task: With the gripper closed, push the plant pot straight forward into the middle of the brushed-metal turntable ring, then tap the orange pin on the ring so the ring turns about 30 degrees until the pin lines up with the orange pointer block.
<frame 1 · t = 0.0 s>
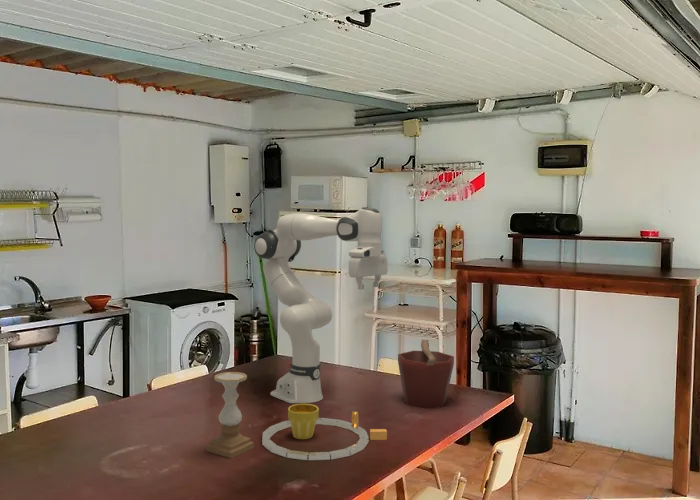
hand: (368, 288, 234), 48 cm above the table, tool pointing down, fingers open, 8 cm apart
plant pot: (303, 436, 213), resting in turntable ring
pointer block: (378, 439, 211), on the table
bucket: (423, 402, 254), on the table
turntable ring: (315, 429, 209), point 3 cm above the table, hinge at 0.0°
candle holder: (230, 450, 199), on the table
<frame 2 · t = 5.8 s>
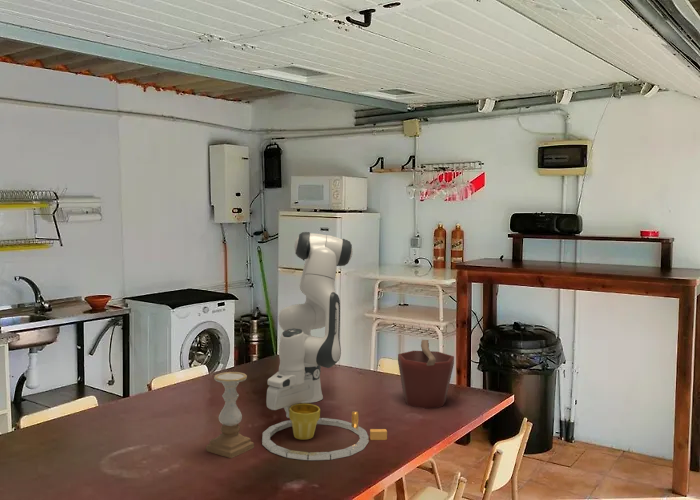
hand: (291, 416, 215), 6 cm above the table, tool pointing down, fingers closed, pressing on plant pot
plant pot: (303, 436, 212), resting in turntable ring, touching gripper
everything else where it was.
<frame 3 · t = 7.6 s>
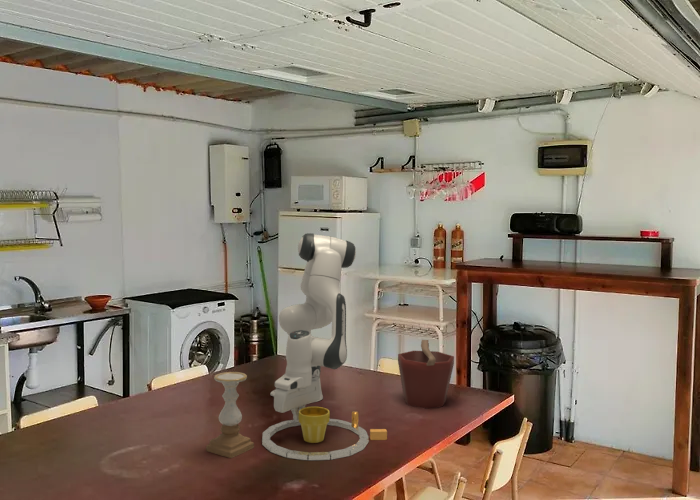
hand: (297, 418, 214), 5 cm above the table, tool pointing down, fingers closed
plant pot: (313, 440, 210), resting in turntable ring
everything else where it was.
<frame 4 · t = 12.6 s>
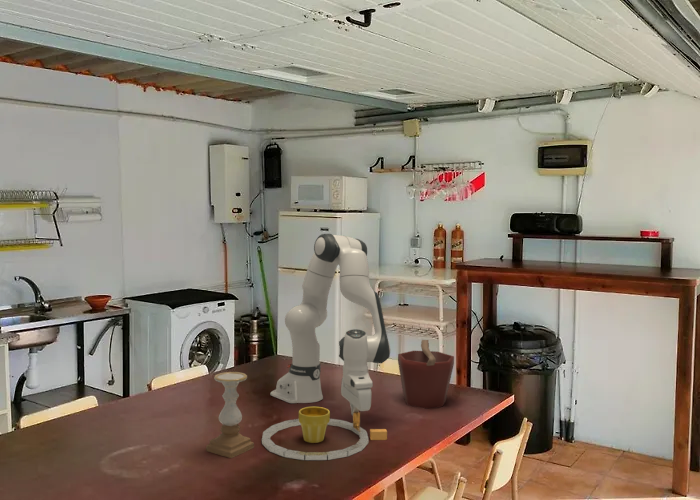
hand: (354, 415, 220), 5 cm above the table, tool pointing down, fingers closed
turntable ring: (315, 429, 209), point 3 cm above the table, hinge at -3.2°, touching gripper
everything else where it was.
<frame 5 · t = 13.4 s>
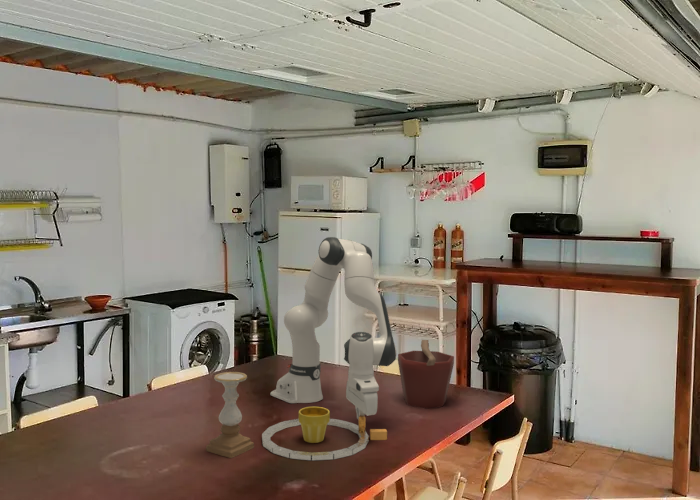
hand: (360, 419, 216), 5 cm above the table, tool pointing down, fingers closed
turntable ring: (315, 429, 209), point 3 cm above the table, hinge at -19.3°, touching gripper
everything else where it was.
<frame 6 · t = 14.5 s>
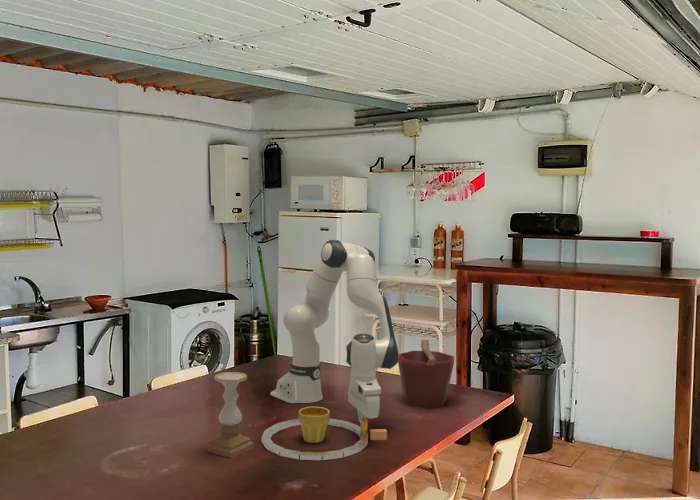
hand: (362, 423, 213), 5 cm above the table, tool pointing down, fingers closed
turntable ring: (315, 429, 209), point 3 cm above the table, hinge at -31.1°, touching gripper
everything else where it was.
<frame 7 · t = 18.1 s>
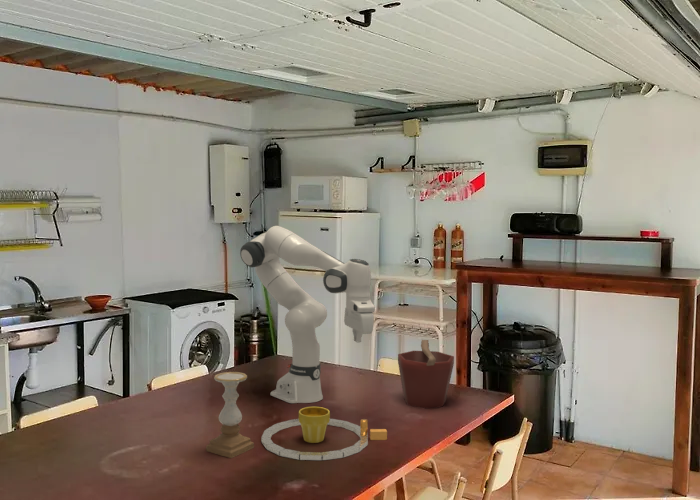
hand: (357, 341, 228), 29 cm above the table, tool pointing down, fingers closed
turntable ring: (315, 429, 209), point 3 cm above the table, hinge at -31.1°
everything else where it was.
at the end: plant pot 0.6 cm from the turntable ring (horizontally); turntable ring at -31° (first picture: +0°); plant pot tilted 0° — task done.
